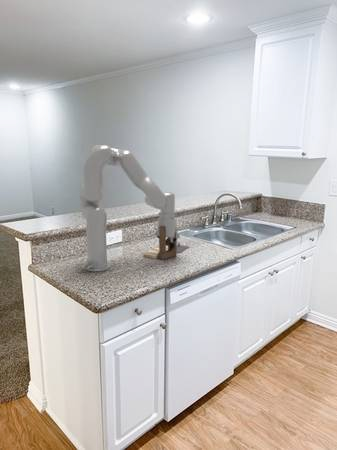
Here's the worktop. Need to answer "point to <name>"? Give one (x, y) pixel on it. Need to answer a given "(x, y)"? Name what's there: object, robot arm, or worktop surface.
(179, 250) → the end mark
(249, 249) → the worktop surface
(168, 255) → the wooden block
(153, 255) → the wooden slatted rack
